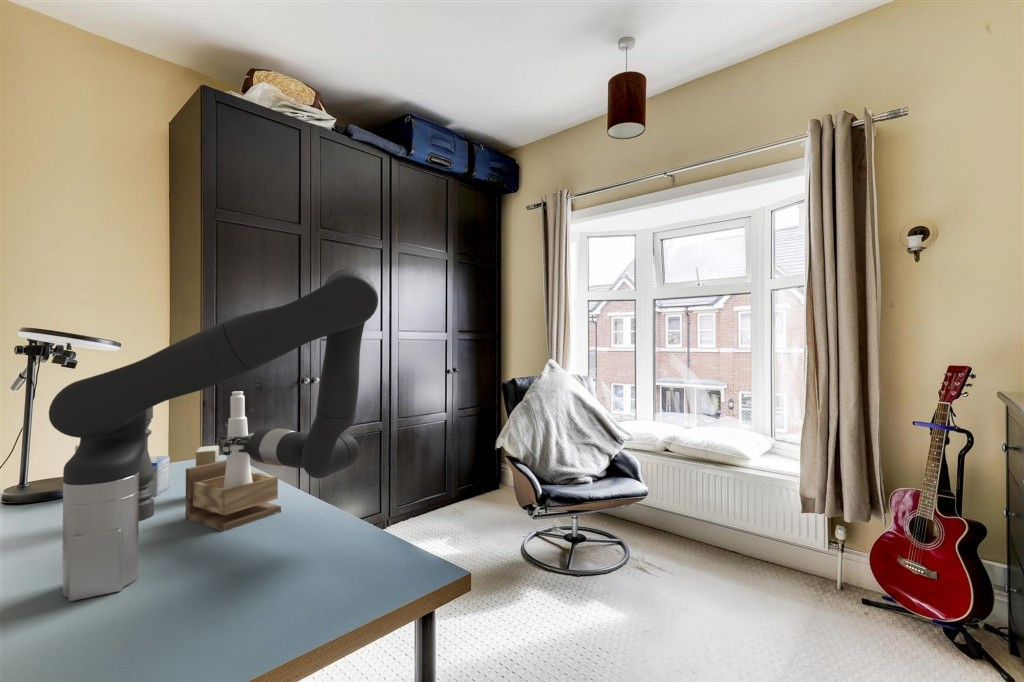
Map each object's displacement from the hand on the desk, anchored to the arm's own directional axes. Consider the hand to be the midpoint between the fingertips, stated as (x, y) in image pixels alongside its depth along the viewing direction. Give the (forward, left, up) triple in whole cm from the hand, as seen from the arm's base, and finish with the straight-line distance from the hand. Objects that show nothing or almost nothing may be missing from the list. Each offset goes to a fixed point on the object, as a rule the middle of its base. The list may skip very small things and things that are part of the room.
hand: (229, 439), depth 108 cm
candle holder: (+8, +18, -17) cm, 26 cm away
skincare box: (+17, +5, -17) cm, 24 cm away
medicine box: (+28, +17, -17) cm, 36 cm away
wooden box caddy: (-2, -1, -17) cm, 17 cm away
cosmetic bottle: (-3, -2, -11) cm, 12 cm away
